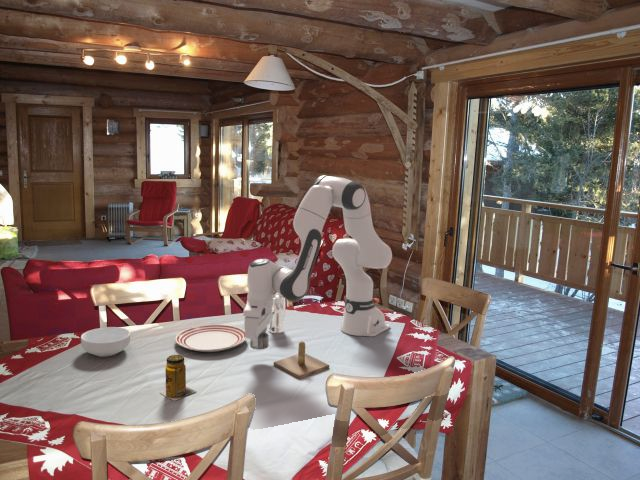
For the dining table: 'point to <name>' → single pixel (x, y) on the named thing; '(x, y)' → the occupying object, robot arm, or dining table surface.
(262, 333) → the ring
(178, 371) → the condiment
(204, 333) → the dinner plate
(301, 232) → the robot arm
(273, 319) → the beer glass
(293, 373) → the wooden peg stand
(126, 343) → the cereal bowl
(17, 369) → the dining table surface
